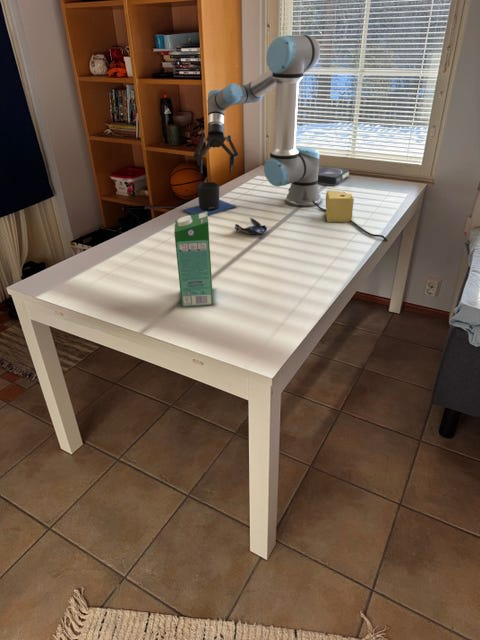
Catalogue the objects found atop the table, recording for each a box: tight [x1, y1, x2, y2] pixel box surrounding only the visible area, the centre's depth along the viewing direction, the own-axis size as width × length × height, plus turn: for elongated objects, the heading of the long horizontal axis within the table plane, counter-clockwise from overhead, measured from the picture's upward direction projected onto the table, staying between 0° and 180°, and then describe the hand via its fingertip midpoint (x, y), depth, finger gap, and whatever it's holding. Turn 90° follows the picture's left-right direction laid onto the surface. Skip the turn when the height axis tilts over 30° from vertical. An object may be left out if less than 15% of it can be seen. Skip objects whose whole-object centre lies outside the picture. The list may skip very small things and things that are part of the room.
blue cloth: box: [182, 199, 237, 216], centre depth 206 cm, size 12×20×1 cm, turn 128°
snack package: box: [234, 217, 268, 236], centre depth 180 cm, size 12×6×12 cm
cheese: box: [325, 190, 355, 223], centre depth 191 cm, size 10×11×10 cm
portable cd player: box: [318, 165, 350, 186], centre depth 241 cm, size 16×17×4 cm
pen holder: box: [196, 181, 220, 211], centre depth 204 cm, size 9×9×10 cm
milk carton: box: [173, 211, 214, 307], centre depth 132 cm, size 9×9×25 cm
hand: (215, 172), depth 212 cm, fingers open, 13 cm apart
